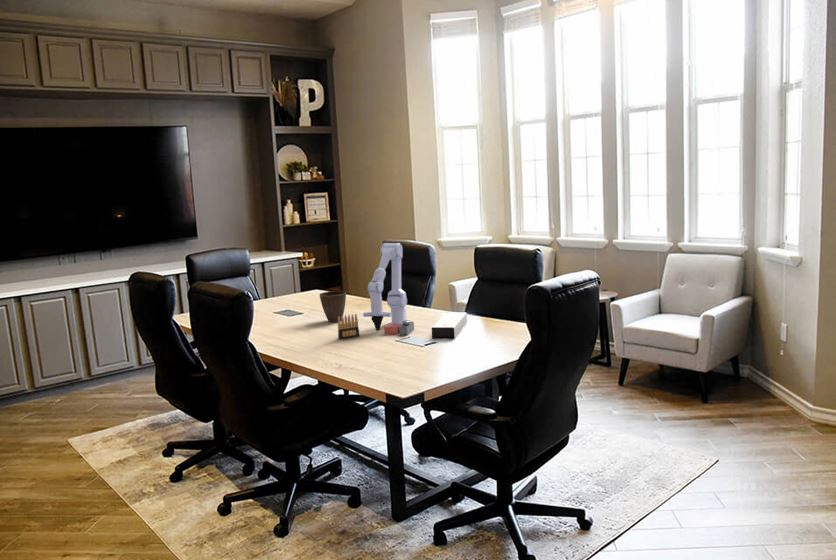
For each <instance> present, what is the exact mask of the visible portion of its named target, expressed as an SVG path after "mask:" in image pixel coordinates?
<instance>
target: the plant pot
mask: <svg viewBox="0 0 836 560" xmlns="http://www.w3.org/2000/svg"><path fill="white" fill-rule="evenodd" d="M319 300H320V303H321V306H322V309H323V312H324V316H325V317H326V319H327V321H328V322H329V323H338V316H339V317H340V322H341V317H342V316H343V317H344V312H345V307H346V301H347V291H344V290H333V291H331V290H330V291H325V292H322V293H319Z"/></svg>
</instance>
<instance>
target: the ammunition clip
mask: <svg viewBox="0 0 836 560" xmlns="http://www.w3.org/2000/svg"><path fill="white" fill-rule="evenodd" d="M337 335H338V336H337V337H338V340H347V339H353V338H360V336H361V335H360V329H359V321H358V314H357V313H355V314H354V315H353V313H352V314H351V316H350V314H348V316H347V315H346V314H345V315H343V316H342V317H341V321H340V317H339V316H338V322H337Z"/></svg>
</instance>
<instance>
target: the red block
mask: <svg viewBox="0 0 836 560" xmlns="http://www.w3.org/2000/svg"><path fill="white" fill-rule="evenodd" d="M401 325H402V324H397V323H391V322H390V323H388V324H386V325H385V326H383V328H384V329H383V330H384V331H383V332H384V335H394V336H396V335H400V333H399V329H398V328H399V327H400V326H401Z"/></svg>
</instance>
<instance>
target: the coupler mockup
mask: <svg viewBox="0 0 836 560" xmlns="http://www.w3.org/2000/svg"><path fill="white" fill-rule="evenodd" d="M402 322H403V324H402V325H401V326H400V327H399V328H398V329H399V336H403V337H404V336H409V335H410V334H411V333H413V331H414V330H415V323H414V321H411V320H408V319H406V320H405V321H402Z"/></svg>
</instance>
